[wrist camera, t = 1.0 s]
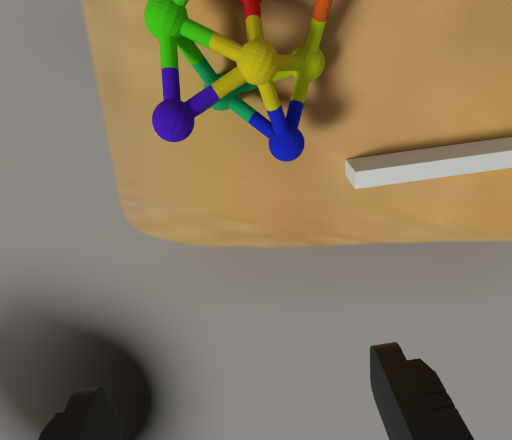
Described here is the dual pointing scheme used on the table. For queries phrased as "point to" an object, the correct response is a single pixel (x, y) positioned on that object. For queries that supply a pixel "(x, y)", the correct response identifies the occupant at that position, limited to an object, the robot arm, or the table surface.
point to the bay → (430, 163)
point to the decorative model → (234, 73)
